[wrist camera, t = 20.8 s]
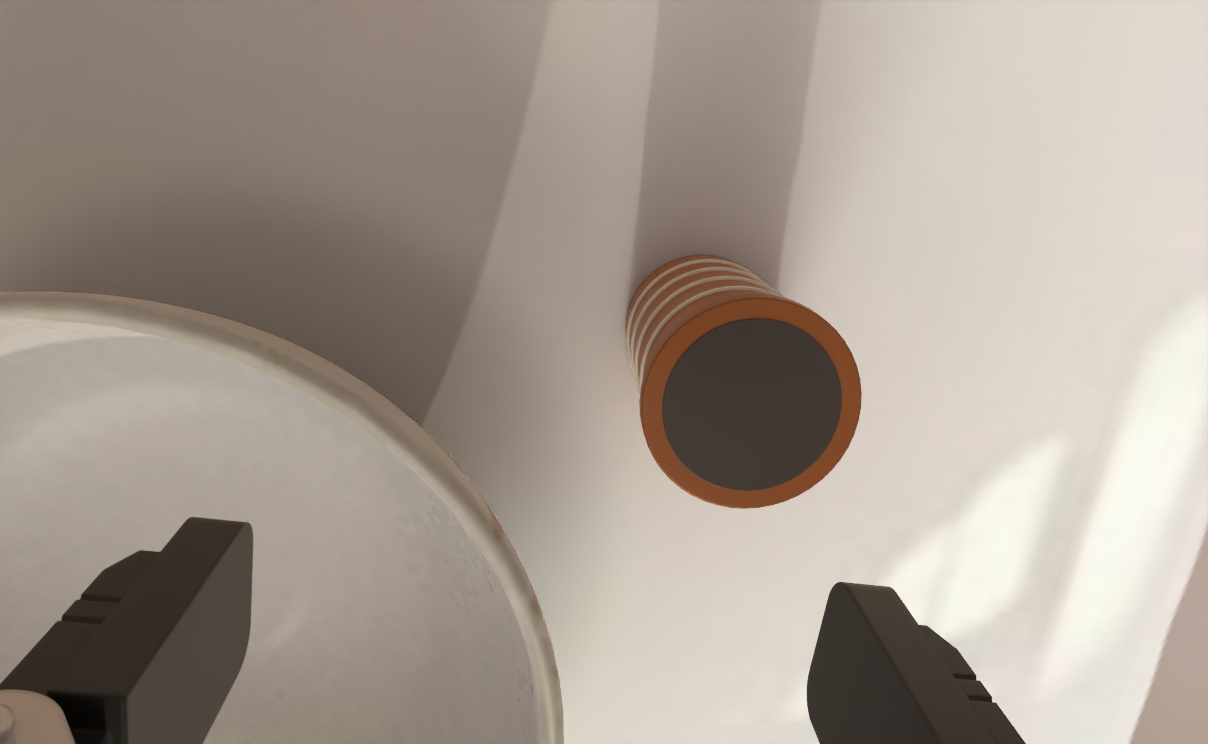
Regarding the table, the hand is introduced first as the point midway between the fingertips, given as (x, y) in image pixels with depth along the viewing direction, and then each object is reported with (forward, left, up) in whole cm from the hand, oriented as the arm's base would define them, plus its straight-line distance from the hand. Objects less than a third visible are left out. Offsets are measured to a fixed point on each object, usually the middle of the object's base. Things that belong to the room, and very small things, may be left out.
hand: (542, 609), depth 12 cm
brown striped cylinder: (+2, +6, -18) cm, 19 cm away
